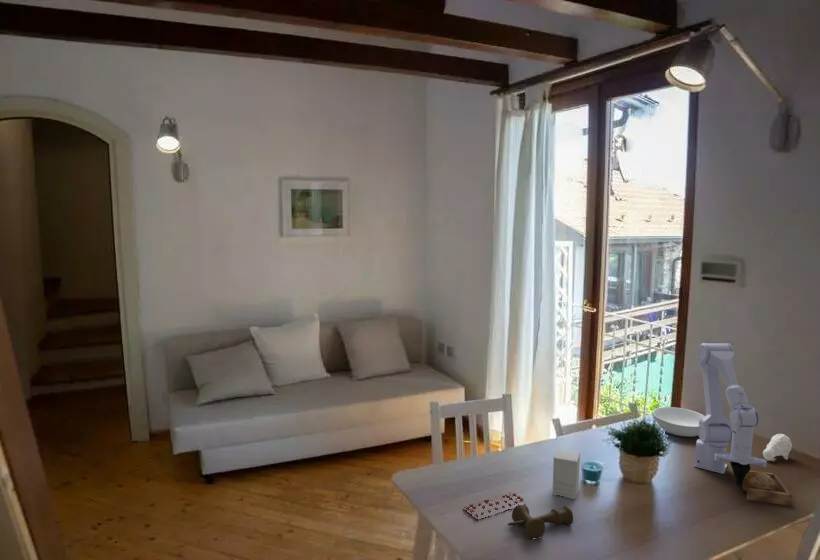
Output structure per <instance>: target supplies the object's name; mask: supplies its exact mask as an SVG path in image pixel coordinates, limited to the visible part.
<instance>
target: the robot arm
mask: <svg viewBox="0 0 820 560" xmlns="http://www.w3.org/2000/svg"><path fill="white" fill-rule="evenodd" d="M697 359H698V361H697V362H698V366H699V367H701V371H702V372H701V373H702V381H703V383H702V384H703V390H704V391H703V393H704V400H705V401H704V403H705V404H704V405H705V412H706V414H705V415H704V417H703V418H702V419H700V420H699V429H698V434H699V435H698V437H699V438H698V439H697V440H696V443H695V450H694V451H695V453H694V463H693V466H694V467H695V468H700V469H703V470H706V471H710V472H715V473H719V474H722V475H723V474H725V472H726V471H727V467H728V464H727V463H730V466H731V470H732V472H733V477H734V483H735V485H736V486H740V487H742V486H741V484H742V481H743V479H744V477H745V476H746V474H747V473H748V472H749V471H750V470H751V465H752V466H760V467H762V468H767V463H768V461H767V460H766V458H760V457H756V456H752V449H753V448H752V447H753V440H754V439H753V438H754V429H755V428H754V427H758V425H759V421H760V417H759V412H758V411H757V410H756V408H754V407H753V405H751V404H750V401H749V399H748V396H747V394H746V391H745V389H744V387H742V386H740V385H739V383H738V379H737V375H736V371H735V368H734V365H733V362H734V360H735V350H734V348H733V346H732V344H731V343H730V342H729V343H727V342H726V343H714V342H713V343H711V342H708V343H707V342H702V343H700V345H699V347H698V348H697ZM720 376H721V378H722V380H723V382H724V384H725V387H726V389H725V391H724V394H725V397H726V400H727V403H728V405H729V408H730V413H729V419H728V418H727V417H725V416H724V414H723V413H724V412H723V403H722V393H721V383H720ZM730 443H731V444H730ZM729 445H730V453H729V452H728V453H727V446H729Z"/></svg>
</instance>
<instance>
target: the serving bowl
mask: <svg viewBox="0 0 820 560" xmlns="http://www.w3.org/2000/svg"><path fill="white" fill-rule="evenodd" d="M704 416H705V415H704V414H702V413H700V412H697V411H695V410H691V409H687V408H682V407H676V406H675V407H674V406H662V407H658V408H655V409H653V411H652V419H653V420H654V419H655V420H656V421H657V423H658V424H659V426H660V427H661V428H663V429H666V431H665V432H666V433H668V434H671V435H674V436H679V437H697V436H698V437H699V434H698V429H699V420H700V419H702V418H703V417H704ZM660 427H659V428H660ZM661 428H660V429H661Z"/></svg>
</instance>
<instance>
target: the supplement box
mask: <svg viewBox="0 0 820 560" xmlns="http://www.w3.org/2000/svg"><path fill="white" fill-rule="evenodd" d="M580 456H581V454H580V452H577V451H572V450H566V449H561V448H557V450H556V452H555V454H554V456H553V464H552V466H553V470H552V472H553V473H552V495H553V494H555V495H554V496H556V495H560V496H559V497H561V496H564V497H563V498H566V497H567V499H571V498H572V499H571V500H576V499H577V495H578V492H579V490H580V489H579V487H580V486H579V485H580V483H579V481H580V462H581V460H580V459H581V457H580Z"/></svg>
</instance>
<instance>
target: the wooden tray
mask: <svg viewBox="0 0 820 560" xmlns="http://www.w3.org/2000/svg"><path fill="white" fill-rule="evenodd" d="M749 472H760V471H758V470H757V471H756V470H751V469H750V471H749ZM749 472H748V473H749ZM761 472H762V473H765V474H766V475H769V476H771V478H772V479H773V480H774V481H775V482H776V484H777V486H778V492H776V491H768V490H761V489H753V488H748V490H747V492H746V499H747V500H748V501H754V502H761V503H767V504H769V503H770V504H776V505H783V506H789V507H791V506H792V498H793V495H792V493H791V492H790V490H789V489H788V488H787V487H786V485H785V484H784V482H783V481H782V480H781V478H780V477H779V476H778V474H776V473H772V472H765V471H761Z"/></svg>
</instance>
